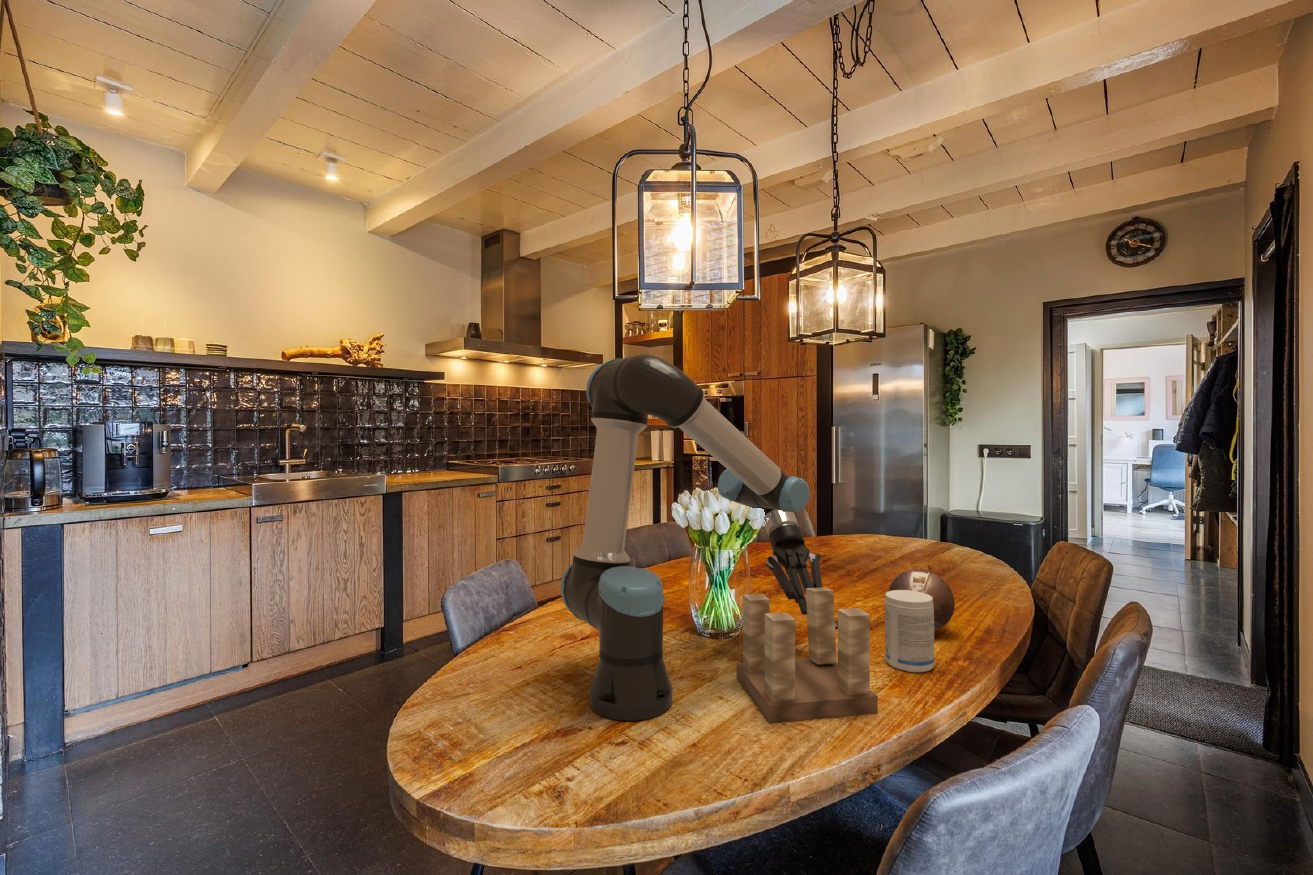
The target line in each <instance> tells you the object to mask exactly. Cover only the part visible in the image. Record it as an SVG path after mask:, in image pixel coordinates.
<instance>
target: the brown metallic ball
mask: <svg viewBox="0 0 1313 875" xmlns="http://www.w3.org/2000/svg"><path fill="white" fill-rule="evenodd" d="M893 590H910V591H917V592H922V593H925V594H928V595H930V596H931V597H932V598H933V606H934V632H937V631H939V630H942V629H943V628H944V627H946V626H947V624H948V623H949V622H950V621H951V619H952V617H953V615H954V611H955V605H956V604H955V598H954V594H953V592H952V590H951V587H950V586H949V585H948V583H947V582H946V581H945V580H944V579H943V578H942V577H940V576H939V575H938V574H936V573H934V572H931V571H928V570H925V569H920V568H919V569H910V570H906V571H904V572H902V573H900V574H899V575H897V576H896V577H895V578H894V579H893V580H892V582H891V583H890V585H889V588H888V591H887V592H889V591H893Z"/></svg>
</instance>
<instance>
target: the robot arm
mask: <svg viewBox="0 0 1313 875" xmlns="http://www.w3.org/2000/svg"><path fill="white" fill-rule="evenodd" d="M585 393H586V398H587V401H588V403H589V404H590V406H591V408H592V409H591V416H590V420H591V422H592V424H593V425H594V426H595V427H596V437H595V443H594V444H595V446H594V452H593V458H592V460H593V461H592V468H591V474H590V476H591V477H590V483H589V484H590V485H589V492H588V498H587V500H588V501H587V507H586V513H585V514H586V515H585V521H584V522H585V523H584V528H583V529H584V530H583V537H582V544H581V546H580V547H579V548H578V549H576V550H575V551H574V553H573V555H572V563H571V564H570V566H569V567H568V568H567V569H566V570H565V571H564V573H563V574H562V578H561V580H560V595H561V600H562V602H563V604H564V606H565V607H566V608H567V610H569V612H570V613H571V614H573V616H574V617H575V618H577V619H579V620H580V621H583V622H585V623H586V624H587V625H589V626H590V627H592V628H594V629H595V630H597V631H598V634H599V635H598V637H599V640H598V641H599V642H598V643H599V645H598V646H599V657H598V658H599V660H598V664H597V667H596V668H595V672H594V676H593V678H592V682H591V685H590V688H589V705H590V707H591V709H592V711H594V712H595V713H596V714H598V715H600V716H602V717H605V718H607V719H610V720H616V721H617V720H618V721H624V722H626V721H627V722H628V721H629V722H632V721H635V722H636V721H642V720H649V719H652V718H655V717H657V716H658V717H659V716H660V715H663V714H664V713H665V712H667V711H668V710H670V707H671V706H672V705H673V700H674V699H673V696H674V695H673V692H674V691H673V686H672V683H671V680H670V677H669V674H668V670H667V667H666V664H665V660H664V603H665V597H664V590H663V589H664V588H663V582H662V580H661V578H660V577H659V575H657V574H656V573H655V572H653V571H652V570H648V569H646V568H642V567H641V568H640V567H639V568H638V567H637V566H630V565H631V557H629V555H628V553H627V552H626V551H625V545H626V537H627V530H628V521H629V514H630V513H629V512H630V505H631V504H630V503H631V498H632V488H633V480H634V474H635V465H636V464H635V463H636V457H637V448H638V442H639V435H640V434H641V432H643V431H644V430H645V429H647V427H648V422H649V421H648V420H649V416H652V417H654V418H657V419H659V420H661V421H662V422H663V423H665V424H666V425H667V426H668V427H670V428H673V429H676V428H679V429H680V430H681V431H682V432H684V433H685V434H686V435H687V436H688V437H690V439H691V440H693V441H694V443H695V442H696V444H697V445H698V446H700V447H701V448H702V449H703V450H704V451H706V452H707V453H708V454H709V455H710V456H712V457H713V458H714V459H715V460H716V461H717V462H718V463H720V465H722V466H723V467H724V468H725V470H724V471H723V472H722V473H721V474H720V476H719V478H718V482H717V491H718V494H719V495H720V496H721V497H722V498H724V499H727V500H728V501H729V502H733V503H737V504H740V505H743V506H745V507H748V506H749V508H751V507H752V508H751V509H753V508H762V509H764V512H765V517H764V520H765V522H766V524H765V522H763V524H765V525H764V527H765V531H766V535H767V536H768V540H769V543H770V547H771V549H772V550H771V551H772V556H768V558H767V559H766V561H765V566H766V567H767V568H768V569H769V570H770V571H771V573H772V574H773V576H774V578H775V579H776V581H777V583H778V584H779V586H780V587H781V589H782V592H783V593H784V595H785V597H786V598H787V599H788V600H794V602H795V604H798V607H799V610H800V613H801V615H804V616H806V617H805V618H807V603H806V588H823V583H822V574H821V565H820V563H821V559H822V555H821V554H820V553H816V554H813V553H811V552H810V549H809V548H808V547H807V546H806V543H805V539H804V536H803V534H802V531H801V529H800V525H799V523H798V519H797V518H796V517H797V516H796V515H795V513H799V512H802V511H803V510H804V509H805V508H806V507H807V505H808V503H809V501H810V497H811V490H810V486H809V485H808V483H807V481H806V480H805V479H803V478H801V477H796V476H793V475H791V476H790V475H788V474H787V473H786V472H784V470H782V469H781V468H780V467H779V466H778V465H777V464H776V463H775V462H773V460H771V459H770V458H769V457H768V456H767V455H766V454H765V453H764V452H762V450H761V449H759V447H757V445H755V444H754V443H753V442H752V441H751V440H749V438H748V437H746V435H744V434H743V433H742V432H741V431H740V430H739V429H738V428H737V427H736V426H735V425H733V423H731V422H730V421H729V420H728V419H727V418H726V417H725V416H724V415H723V414H722V413H721V412H720V411H718V409H717V408H716V407H715V406H714V405H712V404H711V403H710V402H709V401H707V399H705V390H703V388H701V387H700V385H698V384H697V383H696V382H695V381H694V380H693V379H692V378H691V377H689V376H688V375H687V374H686V373H685V372H683V371H682V370H681V369H679V368H678V367H677V366H675V365H674V364H672V363H671V362H669V361H667V360H666V359H665V358H664V359H663V358H661V357H659V356H657V355H654V354H649V353H648V354H647V353H645V354H644V353H641V354H636V355H632V356H628V357H622V358H614V359H610V360H607V361H606V362H604V363H602V364H599V365H598V366H597V367H596V368H595V369H594V370H593V371H592V372H591V374H590V375H589V378H588V380H587V382H586V392H585ZM770 514H771V515H770ZM766 518H769V520H768V522H767V519H766ZM807 561H809V564H810V565H811V566H810V571H811V575H810V573H809V571H808V568H807V567H808V564H807ZM782 567H783V568H784V569H783V568H782ZM784 570H785V571H784Z"/></svg>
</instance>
